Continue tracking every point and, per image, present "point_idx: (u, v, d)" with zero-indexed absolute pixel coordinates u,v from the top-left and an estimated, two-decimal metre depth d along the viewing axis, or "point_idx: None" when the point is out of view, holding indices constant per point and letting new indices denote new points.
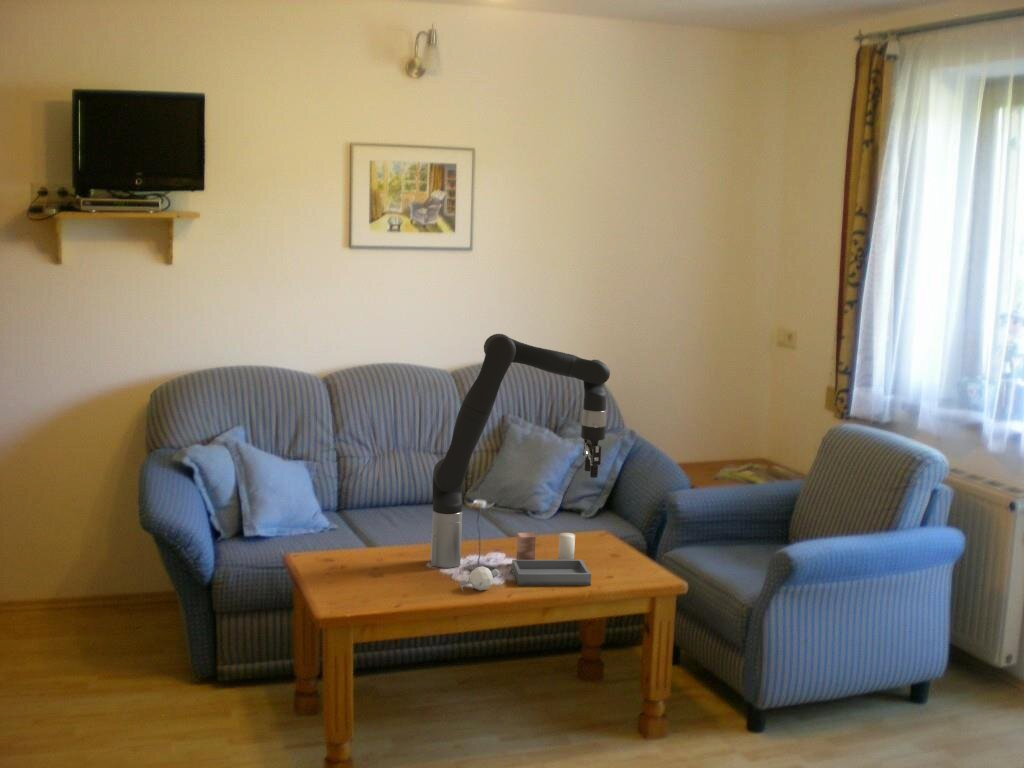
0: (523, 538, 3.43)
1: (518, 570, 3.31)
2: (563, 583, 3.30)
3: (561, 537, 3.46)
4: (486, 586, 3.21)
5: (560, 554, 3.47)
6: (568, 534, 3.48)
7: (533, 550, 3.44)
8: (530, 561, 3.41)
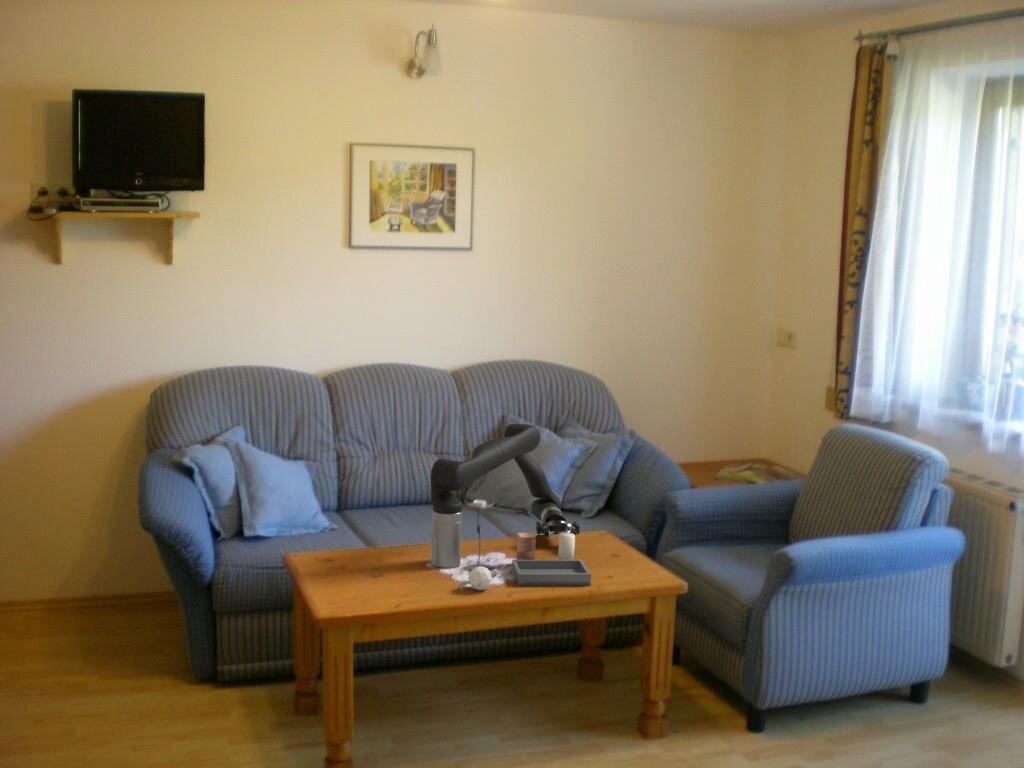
0: (523, 538, 3.43)
1: (518, 570, 3.31)
2: (563, 583, 3.30)
3: (561, 537, 3.46)
4: (485, 586, 3.21)
5: (560, 554, 3.47)
6: (568, 534, 3.48)
7: (533, 550, 3.44)
8: (530, 561, 3.41)
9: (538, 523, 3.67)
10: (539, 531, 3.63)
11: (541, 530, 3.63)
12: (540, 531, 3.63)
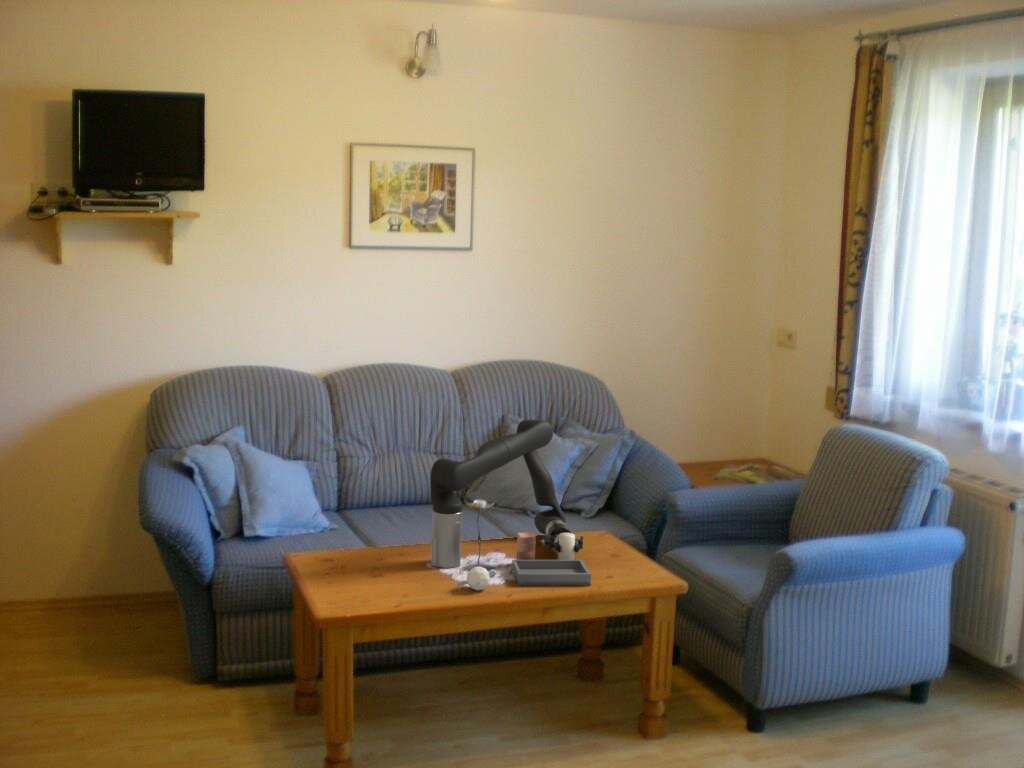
0: (523, 538, 3.43)
1: (518, 570, 3.31)
2: (563, 583, 3.30)
3: (561, 537, 3.46)
4: (483, 586, 3.21)
5: (560, 554, 3.47)
6: (568, 534, 3.48)
7: (533, 550, 3.44)
8: (530, 561, 3.41)
9: (545, 538, 3.53)
10: (550, 546, 3.49)
11: (552, 545, 3.49)
12: (551, 546, 3.49)
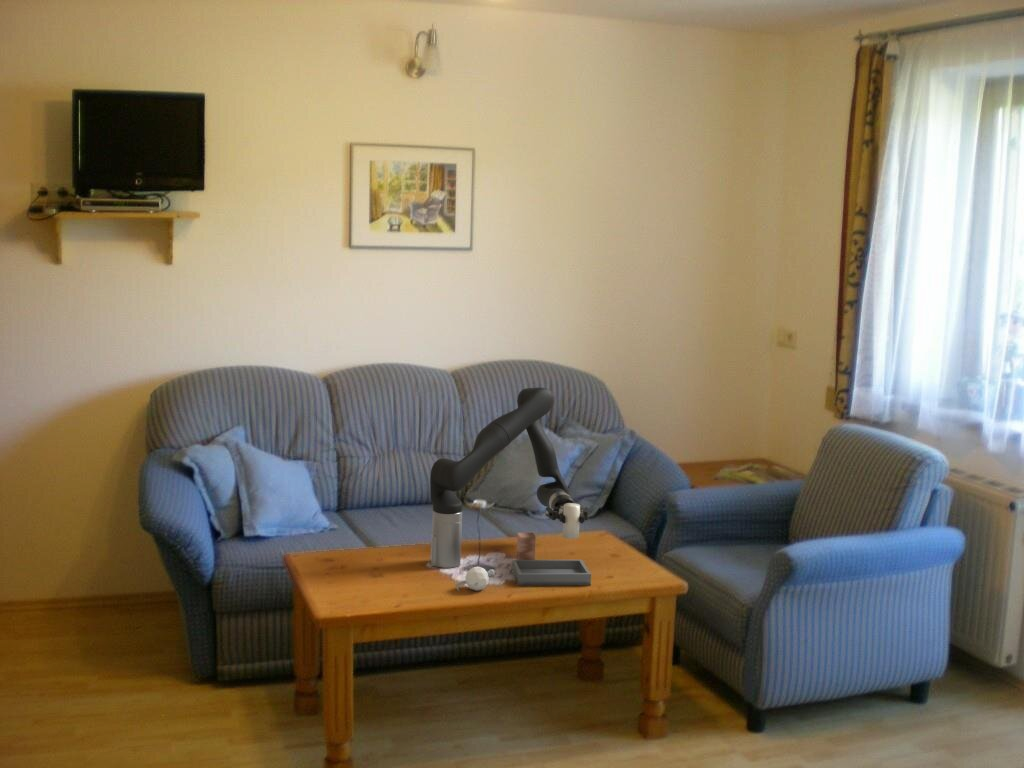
0: (523, 538, 3.43)
1: (518, 570, 3.31)
2: (563, 583, 3.30)
3: (566, 507, 3.36)
4: (482, 586, 3.21)
5: (565, 525, 3.37)
6: (572, 504, 3.38)
7: (533, 550, 3.44)
8: (530, 561, 3.41)
9: (549, 509, 3.43)
10: (554, 517, 3.39)
11: (556, 516, 3.39)
12: (555, 517, 3.39)
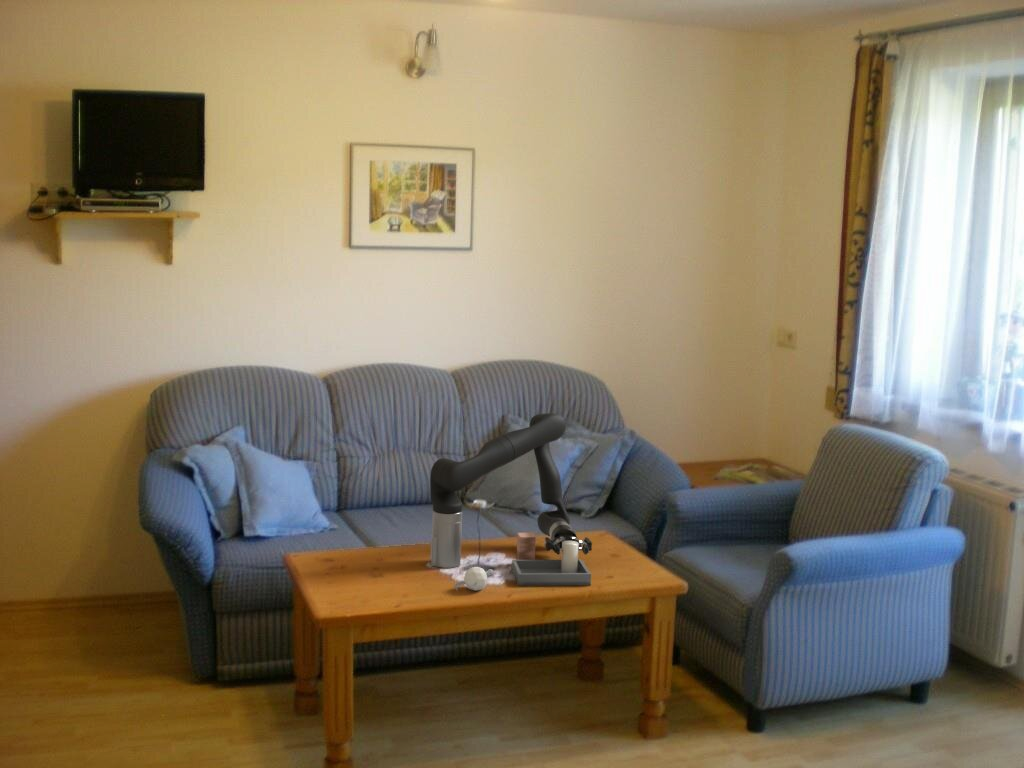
0: (523, 538, 3.43)
1: (518, 570, 3.31)
2: (563, 583, 3.30)
3: (564, 545, 3.34)
4: (481, 586, 3.21)
5: (563, 563, 3.35)
6: (571, 542, 3.36)
7: (533, 550, 3.44)
8: (530, 561, 3.41)
9: (547, 539, 3.41)
10: (549, 547, 3.38)
11: (551, 546, 3.37)
12: (550, 547, 3.38)
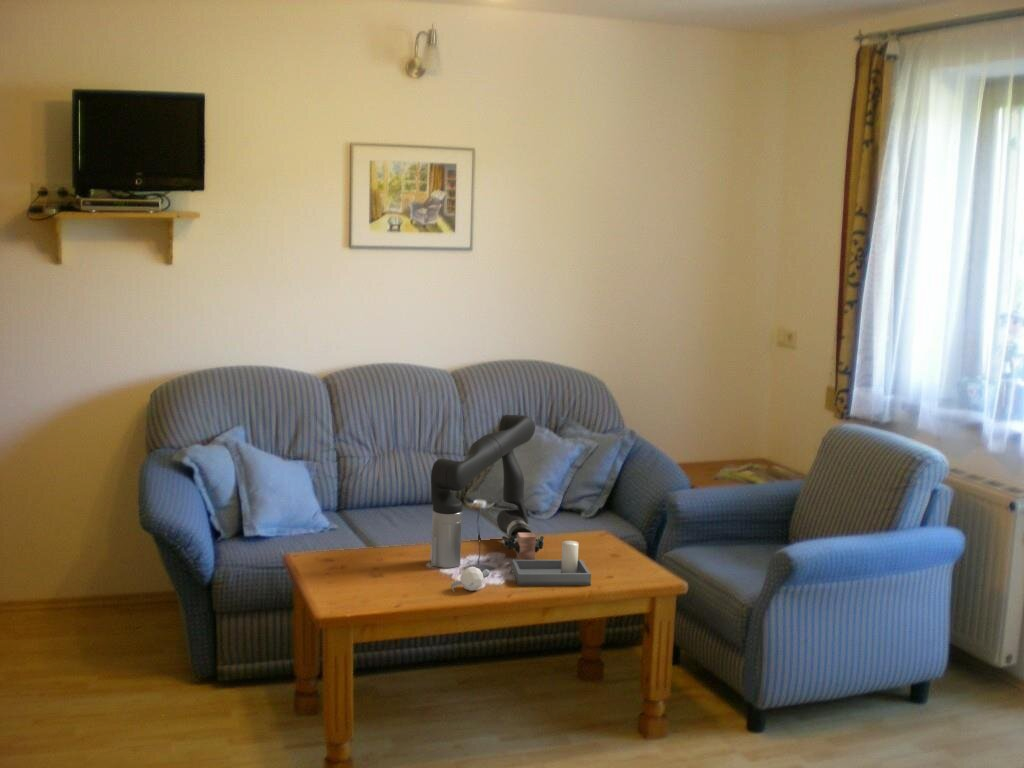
0: (523, 538, 3.43)
1: (518, 570, 3.31)
2: (563, 583, 3.30)
3: (564, 545, 3.34)
4: (477, 586, 3.20)
5: (563, 563, 3.35)
6: (571, 542, 3.36)
7: (533, 550, 3.44)
8: (530, 561, 3.41)
9: (505, 538, 3.51)
10: (509, 546, 3.48)
11: (511, 545, 3.47)
12: (510, 546, 3.47)
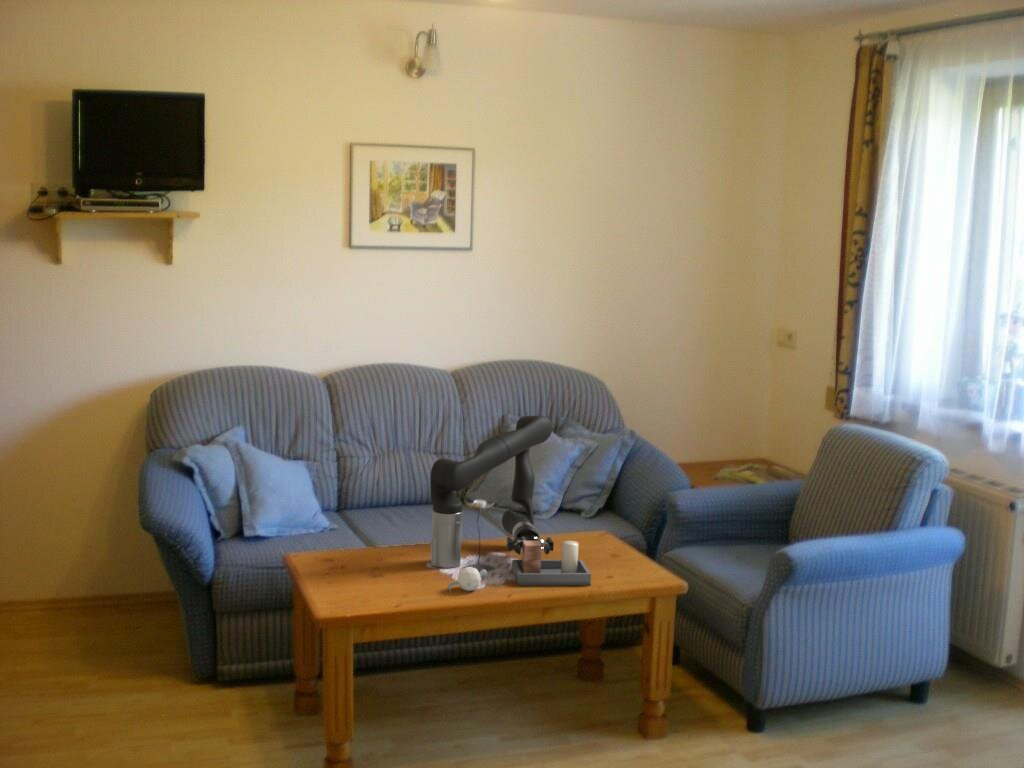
0: (528, 547, 3.31)
1: (518, 570, 3.31)
2: (563, 583, 3.30)
3: (564, 545, 3.34)
4: (474, 587, 3.20)
5: (563, 563, 3.35)
6: (571, 542, 3.36)
7: (539, 559, 3.33)
8: None
9: (509, 539, 3.40)
10: (510, 547, 3.36)
11: (512, 546, 3.36)
12: (511, 547, 3.36)
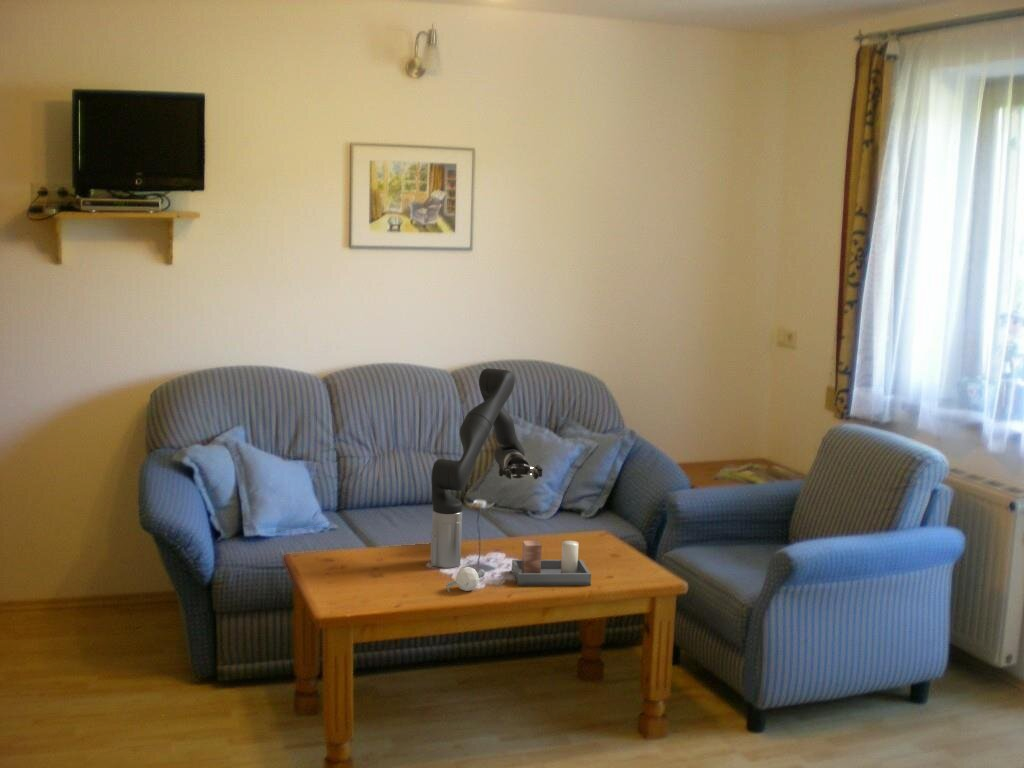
0: (528, 547, 3.31)
1: (518, 570, 3.31)
2: (563, 583, 3.30)
3: (564, 545, 3.34)
4: (472, 587, 3.20)
5: (563, 563, 3.35)
6: (571, 542, 3.36)
7: (539, 559, 3.33)
8: None
9: (500, 466, 3.63)
10: (501, 473, 3.59)
11: (503, 472, 3.59)
12: (502, 473, 3.59)
